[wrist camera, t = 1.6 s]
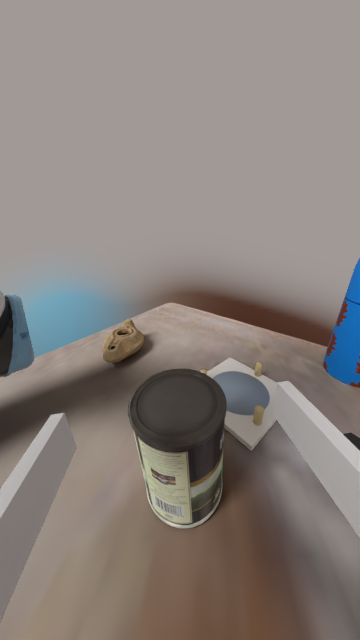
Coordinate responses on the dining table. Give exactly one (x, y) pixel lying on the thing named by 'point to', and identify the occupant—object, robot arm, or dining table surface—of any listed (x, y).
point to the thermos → (346, 337)
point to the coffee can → (180, 444)
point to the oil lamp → (122, 342)
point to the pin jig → (246, 400)
